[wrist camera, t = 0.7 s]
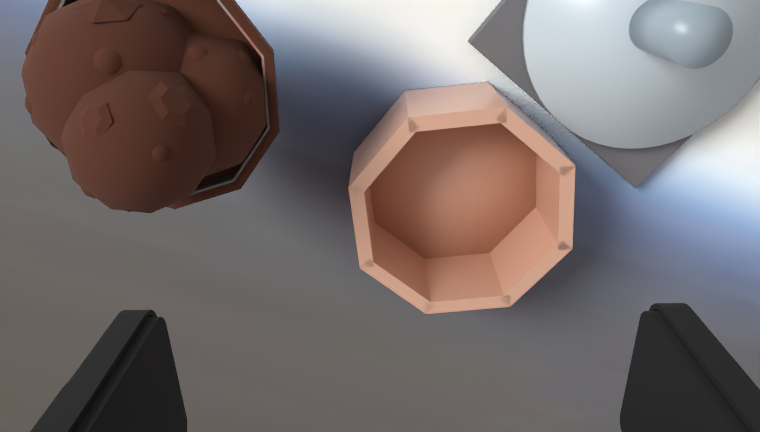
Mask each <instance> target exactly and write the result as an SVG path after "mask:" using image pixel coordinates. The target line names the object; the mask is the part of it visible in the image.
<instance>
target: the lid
mask: <svg viewBox="0 0 760 432" xmlns="http://www.w3.org/2000/svg"><path fill="white" fill-rule="evenodd" d="M522 47H523V57H524V61H525V66H526V71H527V73H528V76H529V79H530V82H531V85H532V86H533V88H534V90H535V92H536V94H537V96H538V98H539V99H540V101H541V102H542V103H543V105H544V106H545V107H546V109H547V110H548V111H549V112H550V113H551V114H552V115H553V116H554V117H555V118H556V119H557V120H558V121H559V122H560V123H561V124H562V125H564V126H565V127H566V128H568V129H569V130H570V131H572V132H573V133H575V134H577V135H579V136H581V137H582V138H584V139H586V140H589V141H592V142H595V143H597V144H601V145H605V146H610V147H615V148H626V149H634V148H648V147H654V146H660V145H664V144H667V143H671V142H675V141H677V140H680V139H682V138H685V137H687V136H690V135H692V134H694V133H696V132H698V131H700V130H702V129H703V128H705V127H707V126H709V125H710V124H712V123H713V122H714V121H716V120H717V119H719V118H720V117H722V116H723V115H724V114H725V113H727V112H728V111H729V110H730V109H731V108H733V107H734V106H735V105H736V104H737V103H738V102H739V101H740V100H741V99H742V98H743V97H744V96H745V95H746V94H747V93H748V92H749V90H750V89H751V88H752V87H753V85H754V84H755V83H756V82H757V80H758V79H759V78H760V0H527V2H526V6H525V12H524V17H523V27H522Z"/></svg>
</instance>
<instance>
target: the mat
mask: <svg viewBox="0 0 760 432" xmlns="http://www.w3.org/2000/svg"><path fill="white" fill-rule="evenodd" d="M526 2H527V0H502V1H501V2H500V3H499V4H498V5H497V6H496V8H495V9H494V10H493V11H492V12H491V14H490V15H489V16H488V17H487V18H486V20H485V21H484V22H483V23H482V24H481V26H480V27H479V28H478V29H477V30H476V32H475V33H474V34H473V35H472V36H471V37H470V39H469V40H468V42H469V43H470V44H471V45H472V46H474V47H475V48H476V49H477V50H478V51H479V52H480V53H482V54H483V55H484V56H485V57H486V58H487V59H488V60H490V61H491V62H492V63H493V64H494V65H495V66H496V67H498V68H499V69H500V70H501V71H502V72H503V73H504V74H505V75H507V76H508V77H509V78H510V79H511V80H512V81H513V82H515V83H516V84H517V85H518V86H519V87H520V88H521V89H523V90H524V91H525V92H526V93H527V94H528V95H529V96H531V97H532V98H533V99H534V100H535V101H536V102H537V103H539V104H540V105H541V106H542V107H543V108H544V109H545V110H547V109H546V107H545V106H544V105H543V103H542V102H541V101H540V99H539V98H538V96H537V94H536V92H535V90H534V88H533V86H532V85H531V82H530V79H529V76H528V73H527V71H526V66H525V61H524V57H523V47H522V27H523V17H524V12H525V6H526ZM547 111H548V110H547ZM548 112H549V111H548ZM549 113H550V112H549ZM550 114H551V113H550ZM551 115H552V114H551ZM552 116H553V115H552ZM553 117H554V116H553ZM567 129H568V128H567ZM568 130H569V129H568ZM569 131H570V130H569ZM571 132H572V131H571ZM572 133H573V132H572ZM573 134H574V135H575V136H576V137H577V138H579V139H580V140H581V141H582V142H583V143H584V144H585V145H587V146H588V147H589V148H590V149H591V150H592V151H593V152H595V153H596V154H597V155H598V156H599V157H600V158H601V159H602V160H604V161H605V162H606V163H607V164H608V165H609V166H610V167H612V168H613V169H614V170H615V171H616V172H617V173H618V174H620V175H621V176H622V177H623V178H624V179H625V180H626V181H628V182H629V183H630V184H631V185H632V186H633V187H634V188H636V187H637V186H638V185H639V184H640V183H641V182H642V181H644V180H645V179H646V178H647V177H648V176H649V175H650V174H651V173H652V172H653V171H654V170H655V169H656V168H657V167H659V166H660V165H661V164H662V163H663V162H664V161H665V160H666V159H667V158H668V157H669V156H670V155H671V154H673V153H674V152H675V151H676V150H677V149H678V148H679V147H680V146H681V145H682V144H683V143H684V142H685V141H687V140H688V139H689V138H690V137H691V136H692V135H693V134H692V135H690V136H687V137H685V138H682V139H680V140H677V141H675V142H671V143H667V144H664V145H660V146H654V147H648V148H634V149H626V148H615V147H610V146H605V145H601V144H597V143H595V142H592V141H589V140H586V139H584V138H582V137H581V136H579V135H577V134H575V133H573Z"/></svg>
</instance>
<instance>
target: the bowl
mask: <svg viewBox="0 0 760 432" xmlns="http://www.w3.org/2000/svg"><path fill="white" fill-rule="evenodd" d="M575 166H576V165H575V164H574V163H573V162H572V161H571V160H570V158H569V157H568V156H567V155H566V154H565V153H564V152H563V151H562V149H561V148H560V147H559V146H558V145H557V144H556V143H555V141H554V140H553V139H552V138H551V137H550V136H549V135H548V133H547V132H545V131H544V130H543V129H542V128H541V127H539V126H538V125H537V124H536V123H535V122H534V121H533V120H531V119H530V118H529V117H528V116H527V115H526V114H524V113H523V112H522V111H521V110H520V109H519V108H517V107H516V106H515V105H514V104H513V103H512V102H510V101H509V100H508V99H507V98H506V97H505V96H504V95H502V94H501V93H500V92H499V91H498V90H497V89H495V88H494V87H493V86H492V85H491V84H490V83H488V82H480V83H471V84H462V85H452V86H443V87H434V88H425V89H415V90H406V91H404V92H403V93H402V94H401V96H400V97H399V98H398V99H397V100H396V102H395V103H394V104H393V105H392V107H391V108H390V109H389V110H388V111H387V113H386V114H385V115H384V116H383V117H382V119H381V120H380V121H379V122H378V124H377V125H376V126H375V127H374V128H373V130H372V131H371V132H370V133H369V134H368V136H367V137H366V138H365V139H364V141H363V142H362V143H361V144H360V145H359V147H358V148H357V149H356V150H355V151H354V155H353V161H352V168H351V174H350V180H349V187H348V189H349V196H350V203H351V210H352V217H353V223H354V230H355V237H356V244H357V251H358V258H359V265H360V269H362V270H363V271H365V272H366V273H368V274H369V275H370V276H372V277H373V278H375V279H376V280H378V281H379V282H381V283H382V284H383V285H385V286H386V287H388V288H389V289H391V290H392V291H394V292H395V293H396V294H398V295H399V296H401V297H402V298H404V299H405V300H407V301H408V302H409V303H411V304H412V305H414V306H415V307H417V308H418V309H420V310H421V311H422V312H424V313H425V314H431V313H443V312H454V311H466V310H477V309H489V308H501V307H510V306H511V305H513V304H514V303H515V302H516V301H517V300H518V299H519V298H520V297H521V296H522V295H523V294H524V293H525V292H527V291H528V290H529V289H530V288H531V287H532V286H533V285H534V284H535V283H536V282H537V281H538V280H539V279H541V278H542V277H543V276H544V275H545V274H546V273H547V272H548V271H549V270H550V269H551V268H552V267H553V266H555V265H556V264H557V263H558V262H559V261H560V260H561V259H562V258H563V257H564V256H565V255H566V254H567V253H569V252H570V251H571V250H572V249H573V221H574V193H575Z"/></svg>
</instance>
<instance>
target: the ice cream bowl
mask: <svg viewBox="0 0 760 432" xmlns="http://www.w3.org/2000/svg"><path fill="white" fill-rule="evenodd" d="M25 54H26V60H25V62H24V64H23V68H22V78H23V82H24V87H25V91H26V97H25V107H26V108H27V110H28V112H29V113H30V114H31V119H32V122H33V123H34V124H35V126H36V127H37V128H38V129H39V130H40V131H41V132H42V133H43V134H44V135H45V136H46V138H47V140H48V141H49V143H50V144H51V146H53V147H54V148H56V149H58V150H59V151H60V152H61V153H62V154H63V155H64V156H65V157H66V158H67V160H68V164H69V167H70V171H71V174H72V177H73V180H74V181H75V182H76V183H77V184H78V185H80V186H81V189H82V190H83V192H84V193H85V194H86V195H87V196H90V197H92V198H97V199H98V200H100V201H101V202H102V203H104V204H105V205H107V206H108V207H109V208H111V209H115V210H125V211H128V212H130V211H135V212H145V213H152V212H155V211H157V210H159V209H161V208H164V207H170V208H173V209H176V208H180V207H183V206H186V205H189V204H193V203H196V202H199V201H202V200H206V199H209V198H212V197H216V196H219V195H222V194H225V193H229V192H232V191H235V190H238V189H241V188H242V186H243V185H244V183H245V182H246V180H247V179H248V177H249V176H250V174H251V173H252V171H253V170H254V168H255V167H256V165H257V164H258V162H259V161H260V159H261V158H262V157H263V155H264V154H265V152H266V151H267V149H268V148H269V146H270V145H271V143H272V142H273V140H274V139H275V137H276V136H277V134H278V133H279V119H278V105H277V92H276V79H275V65H274V52H273V49H272V48H271V46H270V45H269V44H268V42H267V41H266V40H265V39H264V37H263V36H262V35H261V33H260V32H259V31H258V30H257V28H256V27H255V26H254V24H253V23H252V22H251V21H250V19H249V18H248V17H247V15H246V14H245V13H244V12H243V10H242V9H241V8H240V6H239V5H238V4H237V3H236V1H235V0H49V1H48V3H47V5H46V7H45V9H44V12H43V14H42V16H41V18H40V21H39V23H38V25H37V27H36V29H35V32H34V34H33V36H32V38H31V41H30V43H29V45H28V47H27V49H26V52H25Z"/></svg>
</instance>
